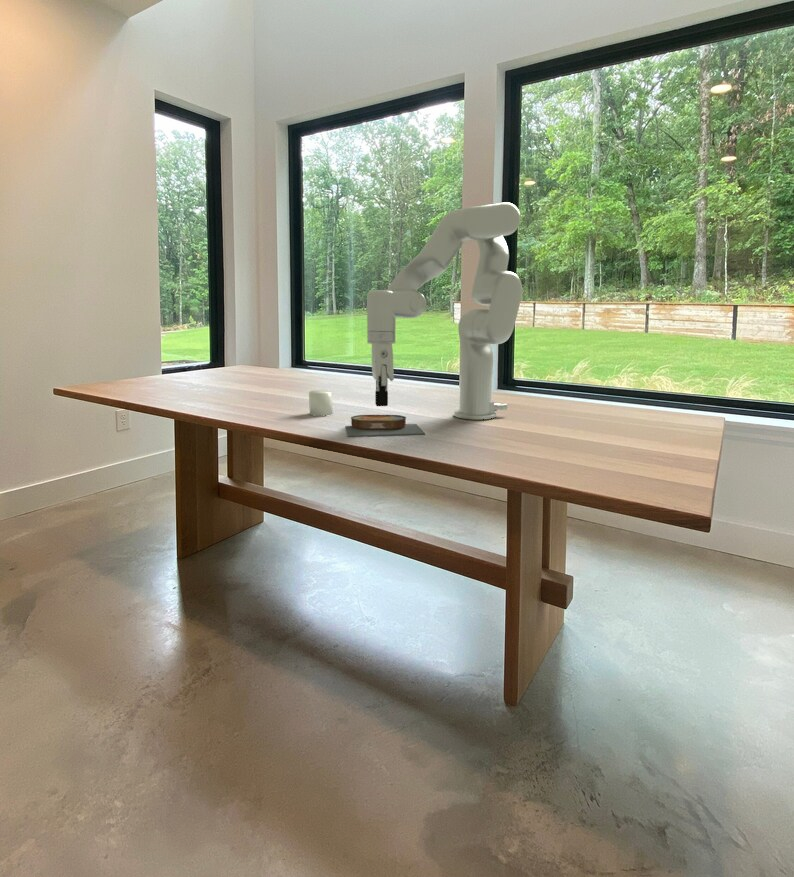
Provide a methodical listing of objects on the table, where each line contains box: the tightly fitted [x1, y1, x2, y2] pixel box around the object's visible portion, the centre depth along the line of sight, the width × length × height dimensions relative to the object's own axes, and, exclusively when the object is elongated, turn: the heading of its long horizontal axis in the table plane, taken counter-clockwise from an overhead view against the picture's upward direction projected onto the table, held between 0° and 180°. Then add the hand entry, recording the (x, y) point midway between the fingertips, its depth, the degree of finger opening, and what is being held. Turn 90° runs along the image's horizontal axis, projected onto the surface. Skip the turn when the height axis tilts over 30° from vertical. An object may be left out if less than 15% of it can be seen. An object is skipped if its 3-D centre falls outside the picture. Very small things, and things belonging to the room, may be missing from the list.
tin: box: [350, 414, 407, 429], centre depth 161 cm, size 15×3×8 cm
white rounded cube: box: [308, 389, 334, 417], centre depth 181 cm, size 7×7×7 cm
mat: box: [344, 423, 426, 438], centre depth 158 cm, size 20×12×1 cm, turn 99°
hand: (381, 405), depth 161 cm, fingers closed
